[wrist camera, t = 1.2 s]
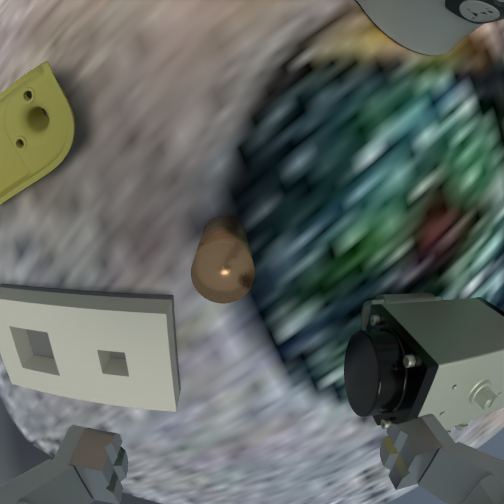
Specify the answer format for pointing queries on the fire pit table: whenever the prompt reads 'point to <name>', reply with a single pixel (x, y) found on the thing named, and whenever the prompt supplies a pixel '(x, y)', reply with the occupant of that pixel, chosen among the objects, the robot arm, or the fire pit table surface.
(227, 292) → the brown cylinder
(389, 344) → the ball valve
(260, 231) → the fire pit table surface
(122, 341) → the fitting block
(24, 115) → the plastic component
